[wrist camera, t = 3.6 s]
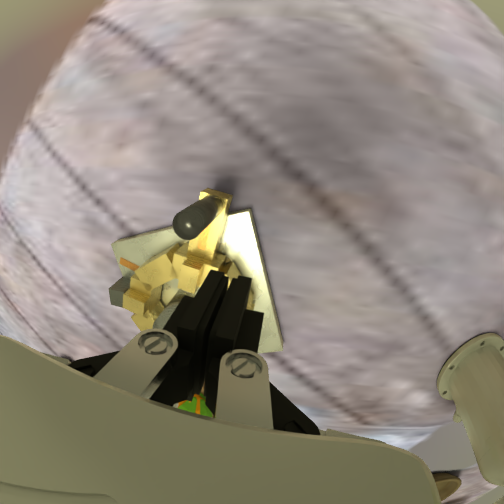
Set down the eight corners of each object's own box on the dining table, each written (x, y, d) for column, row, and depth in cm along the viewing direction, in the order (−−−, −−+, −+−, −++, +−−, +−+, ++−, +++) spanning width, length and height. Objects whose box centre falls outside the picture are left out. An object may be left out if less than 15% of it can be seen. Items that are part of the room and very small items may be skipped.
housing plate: (283, 342, 33) (278, 392, 25) (159, 351, 36) (134, 391, 29) (250, 208, 28) (234, 232, 20) (112, 241, 31) (70, 268, 24)
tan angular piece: (234, 359, 32) (219, 411, 25) (138, 323, 33) (106, 364, 25) (286, 212, 25) (282, 241, 18) (159, 174, 26) (111, 187, 18)
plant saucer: (345, 493, 48) (345, 508, 44) (464, 453, 40) (468, 467, 36) (363, 516, 57) (363, 527, 52) (452, 487, 48) (455, 497, 44)
